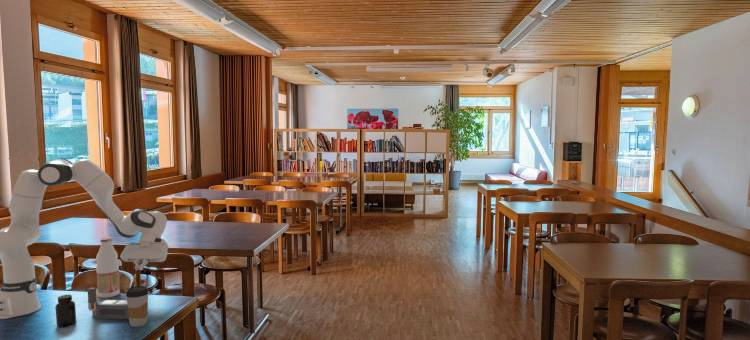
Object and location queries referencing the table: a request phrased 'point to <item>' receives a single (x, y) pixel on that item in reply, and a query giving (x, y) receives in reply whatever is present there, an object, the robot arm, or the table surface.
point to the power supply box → (111, 310)
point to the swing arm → (92, 298)
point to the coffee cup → (137, 305)
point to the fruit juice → (107, 270)
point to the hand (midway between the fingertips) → (138, 269)
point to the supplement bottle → (65, 311)
